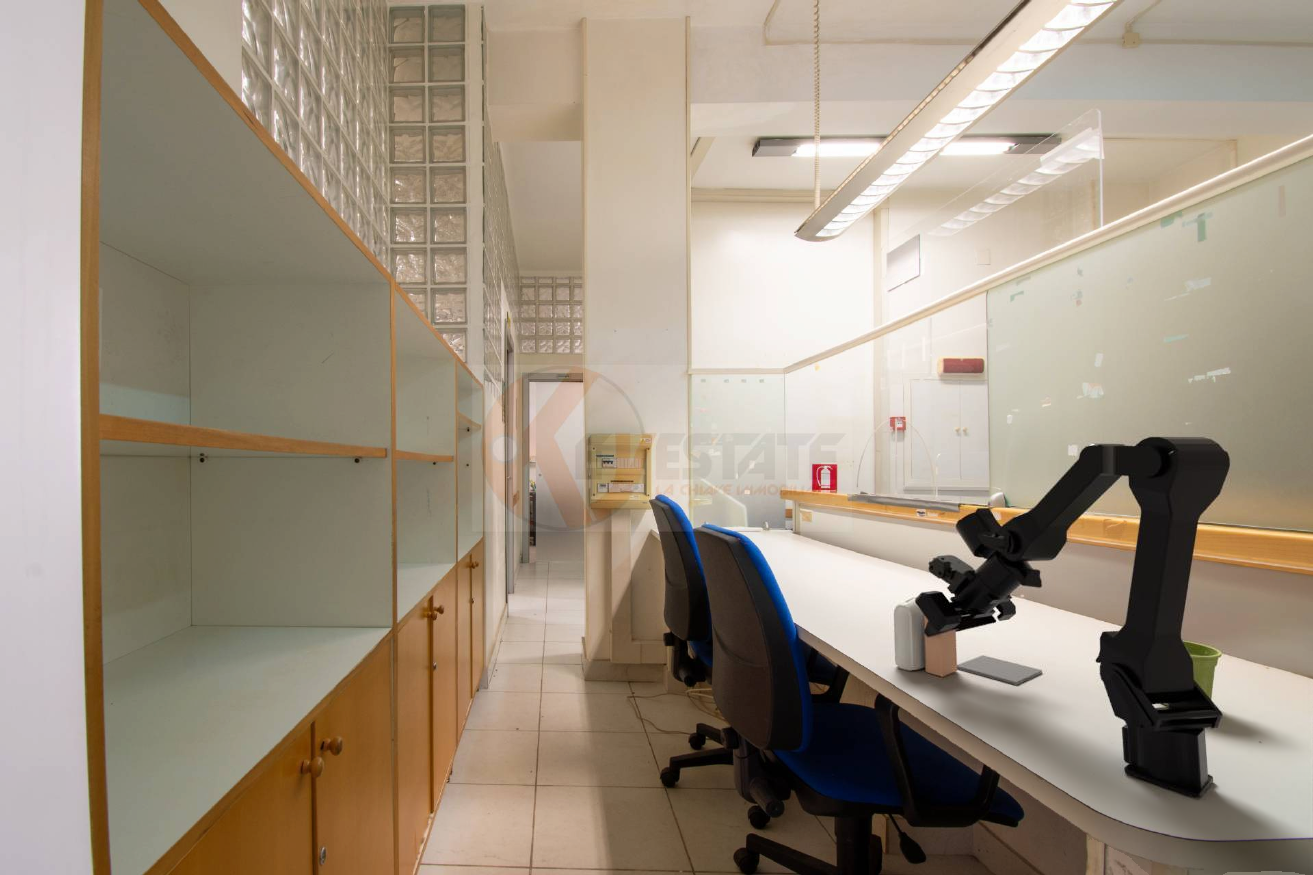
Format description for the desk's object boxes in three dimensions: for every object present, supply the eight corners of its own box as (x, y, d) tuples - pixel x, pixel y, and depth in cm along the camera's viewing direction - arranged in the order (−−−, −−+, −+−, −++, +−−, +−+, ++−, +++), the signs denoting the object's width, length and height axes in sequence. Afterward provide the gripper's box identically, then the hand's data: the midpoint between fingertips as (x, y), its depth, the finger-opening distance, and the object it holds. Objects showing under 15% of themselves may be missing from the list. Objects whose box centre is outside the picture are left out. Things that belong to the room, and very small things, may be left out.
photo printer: (923, 656, 108) (921, 591, 109) (945, 662, 104) (942, 595, 105) (891, 666, 102) (889, 598, 103) (913, 673, 99) (910, 602, 99)
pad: (1042, 672, 99) (1041, 669, 99) (1016, 685, 93) (1016, 682, 93) (982, 657, 107) (982, 655, 107) (955, 668, 101) (955, 665, 101)
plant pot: (1197, 721, 79) (1193, 658, 80) (1126, 696, 88) (1122, 640, 89) (1242, 713, 82) (1238, 652, 82) (1168, 689, 91) (1165, 635, 91)
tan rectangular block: (957, 670, 99) (954, 602, 100) (942, 676, 97) (939, 606, 97) (940, 666, 102) (938, 599, 103) (925, 671, 99) (923, 602, 100)
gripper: (995, 538, 100) (944, 590, 110) (922, 544, 93) (873, 599, 102) (1044, 591, 93) (984, 641, 102) (968, 602, 85) (910, 655, 94)
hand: (937, 632), depth 100 cm, fingers closed on tan rectangular block, 5 cm apart
